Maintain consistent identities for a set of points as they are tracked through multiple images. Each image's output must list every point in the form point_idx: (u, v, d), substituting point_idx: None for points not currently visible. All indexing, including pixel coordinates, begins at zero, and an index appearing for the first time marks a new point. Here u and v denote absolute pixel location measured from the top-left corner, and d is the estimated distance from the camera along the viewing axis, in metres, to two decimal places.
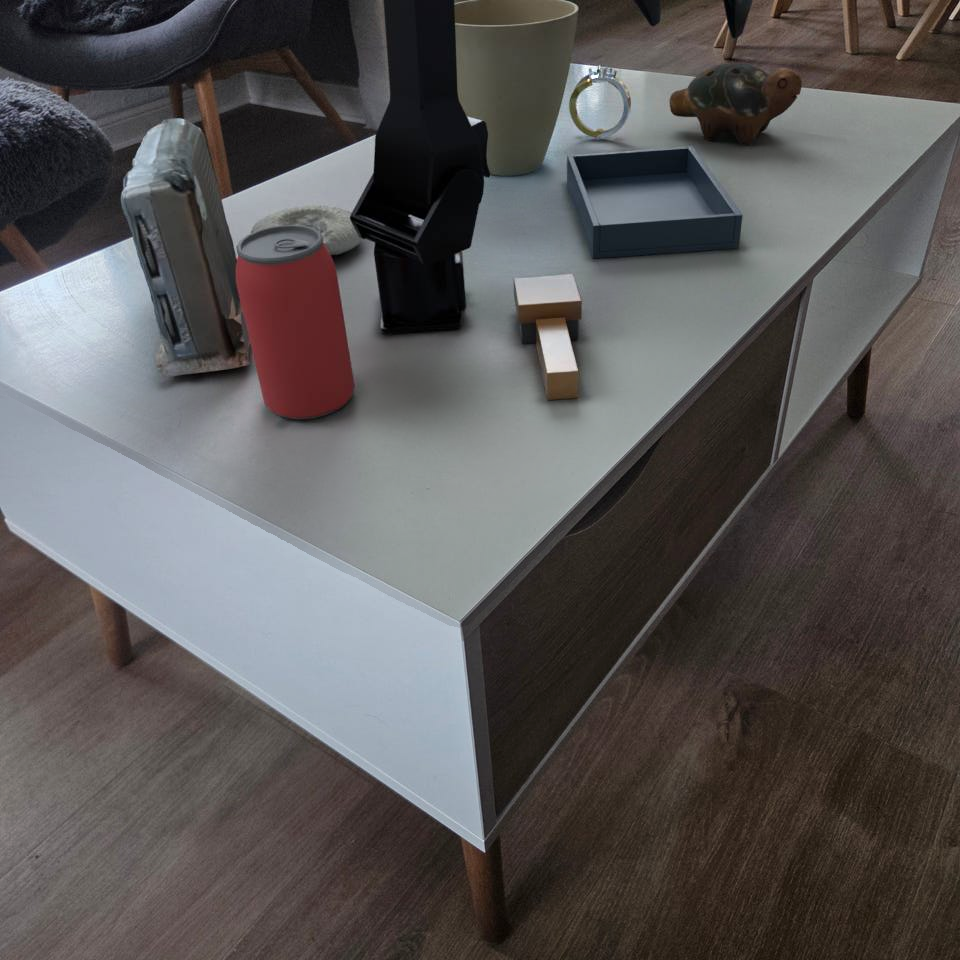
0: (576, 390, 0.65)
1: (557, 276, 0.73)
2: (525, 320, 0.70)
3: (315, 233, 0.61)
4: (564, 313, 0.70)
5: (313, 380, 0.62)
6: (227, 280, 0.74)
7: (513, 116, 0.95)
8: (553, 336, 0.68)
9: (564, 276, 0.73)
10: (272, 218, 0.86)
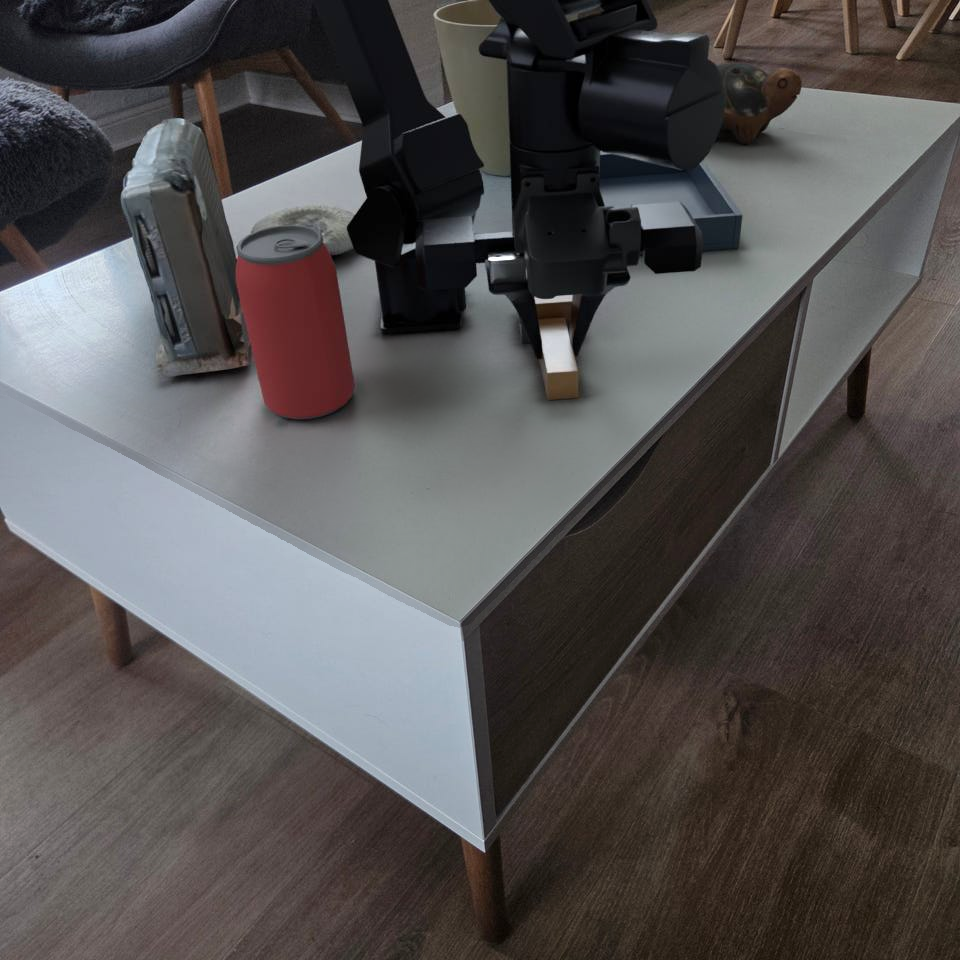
0: (576, 390, 0.65)
1: None
2: None
3: (315, 233, 0.61)
4: (564, 313, 0.70)
5: (313, 380, 0.62)
6: (227, 280, 0.74)
7: None
8: (553, 336, 0.68)
9: None
10: (272, 218, 0.86)
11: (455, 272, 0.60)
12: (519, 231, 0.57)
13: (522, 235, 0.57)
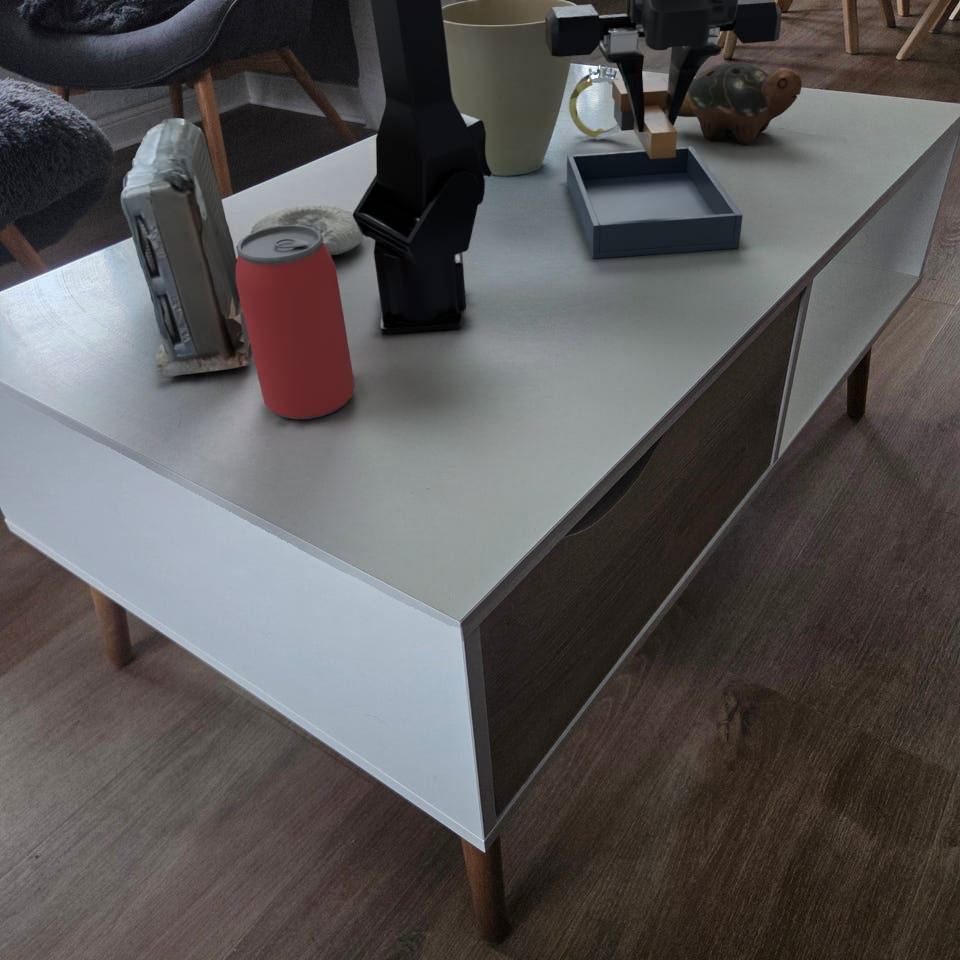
0: (674, 150, 0.79)
1: (649, 78, 0.88)
2: (626, 108, 0.85)
3: (315, 233, 0.61)
4: (658, 101, 0.85)
5: (313, 380, 0.62)
6: (227, 280, 0.74)
7: (513, 116, 0.95)
8: (651, 115, 0.82)
9: (655, 78, 0.88)
10: (272, 218, 0.86)
11: (583, 40, 0.75)
12: None
13: (641, 2, 0.72)
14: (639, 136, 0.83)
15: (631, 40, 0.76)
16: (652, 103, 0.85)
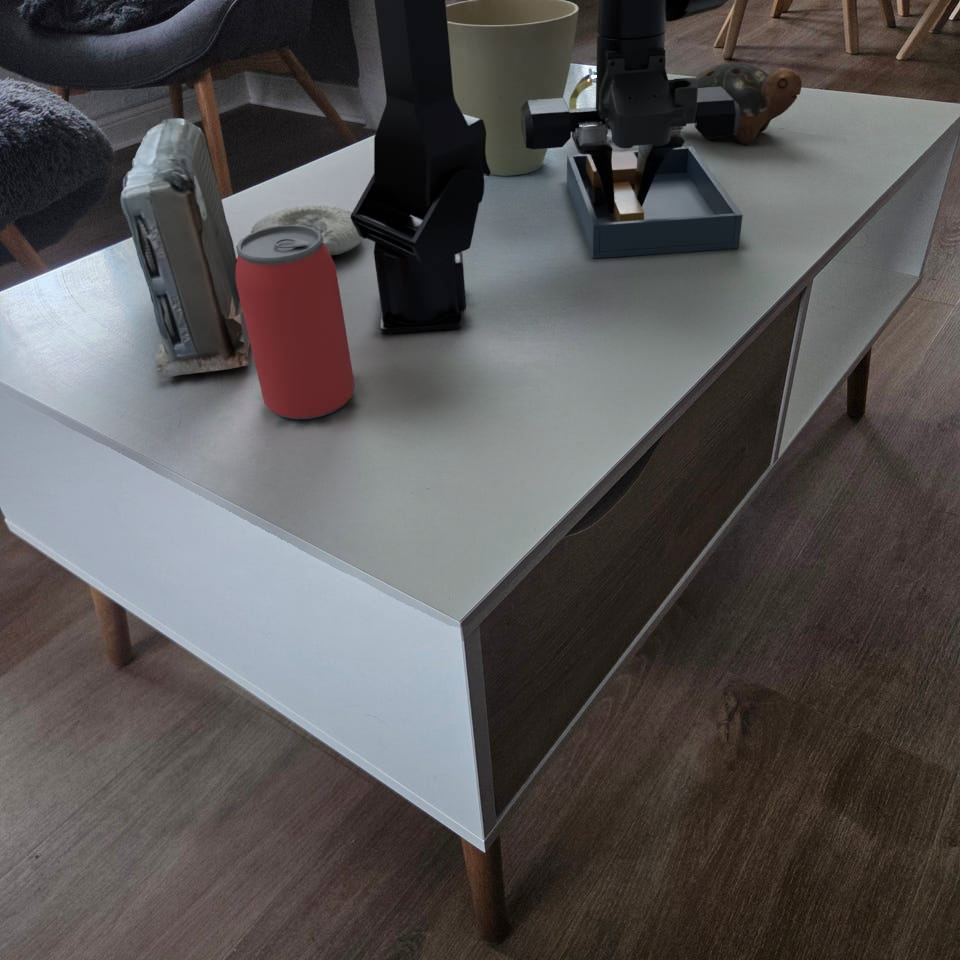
0: None
1: (620, 153, 0.93)
2: (598, 184, 0.90)
3: (315, 233, 0.61)
4: (628, 178, 0.90)
5: (313, 380, 0.62)
6: (227, 280, 0.74)
7: (513, 116, 0.95)
8: (621, 193, 0.88)
9: (626, 153, 0.93)
10: (272, 218, 0.86)
11: (555, 134, 0.80)
12: (605, 99, 0.78)
13: (608, 102, 0.77)
14: None
15: (600, 133, 0.81)
16: (623, 180, 0.90)
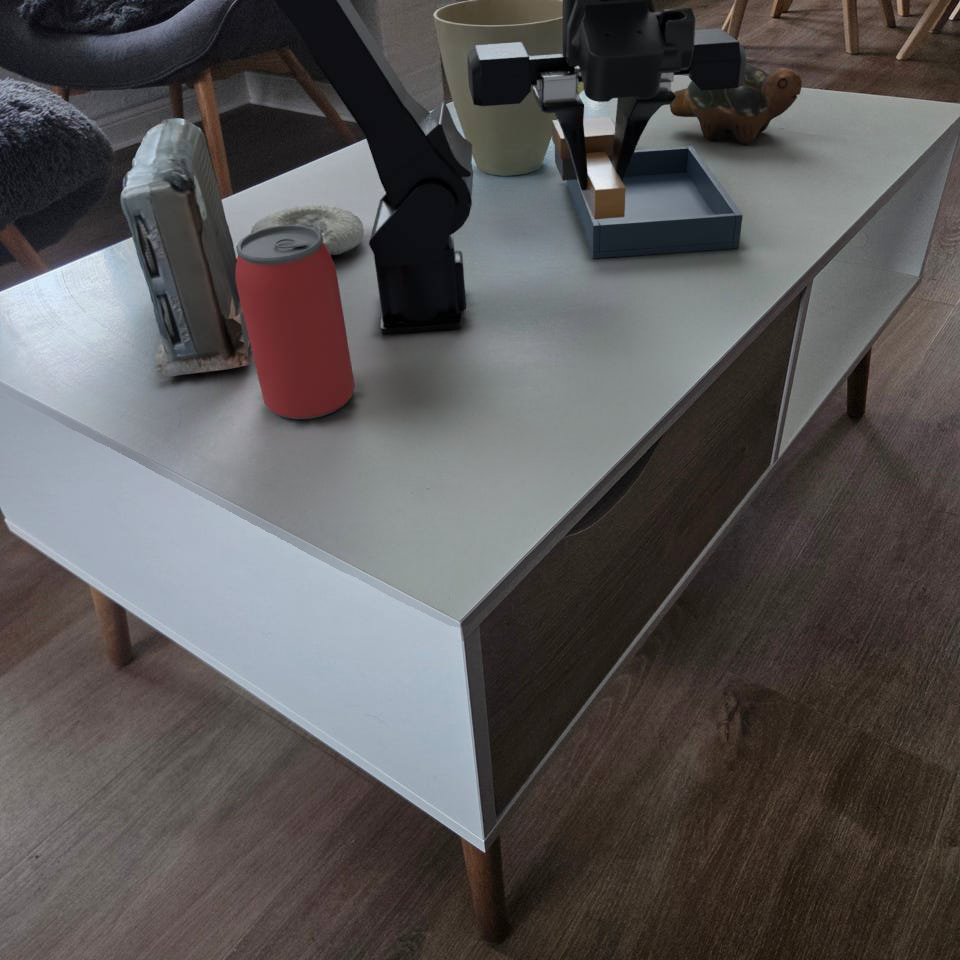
0: (622, 209, 0.67)
1: (594, 118, 0.75)
2: (567, 154, 0.72)
3: (315, 233, 0.61)
4: (604, 147, 0.72)
5: (313, 380, 0.62)
6: (227, 280, 0.74)
7: (513, 116, 0.95)
8: (596, 165, 0.70)
9: (601, 117, 0.75)
10: (272, 218, 0.86)
11: (510, 87, 0.62)
12: (574, 39, 0.60)
13: (578, 43, 0.60)
14: None
15: (569, 86, 0.63)
16: (597, 149, 0.72)
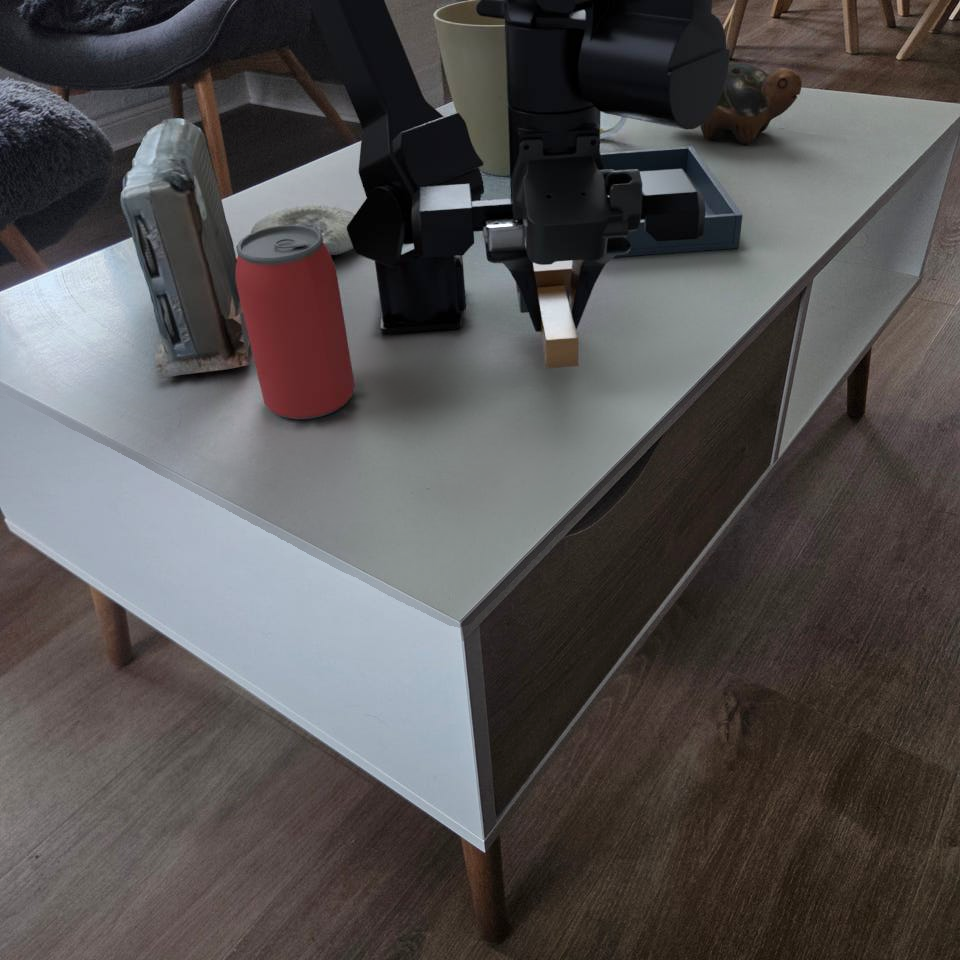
0: (576, 358, 0.63)
1: None
2: None
3: (315, 233, 0.61)
4: (564, 281, 0.68)
5: (313, 380, 0.62)
6: (227, 280, 0.74)
7: None
8: (552, 304, 0.66)
9: None
10: (272, 218, 0.86)
11: (452, 239, 0.58)
12: (517, 196, 0.56)
13: (520, 200, 0.56)
14: None
15: (516, 236, 0.60)
16: (556, 283, 0.68)
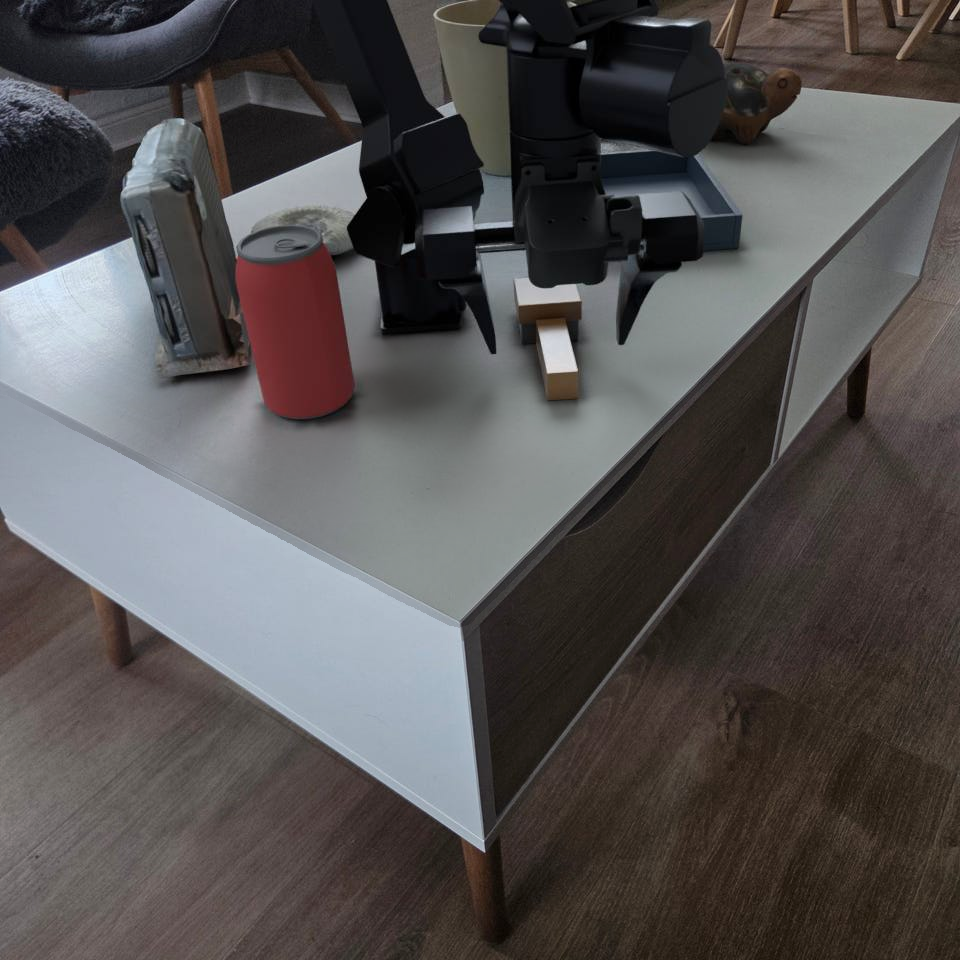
0: (576, 391, 0.65)
1: None
2: (525, 320, 0.70)
3: (315, 233, 0.61)
4: (564, 313, 0.70)
5: (313, 380, 0.62)
6: (227, 280, 0.74)
7: None
8: (553, 337, 0.68)
9: None
10: (272, 218, 0.86)
11: (455, 262, 0.59)
12: (519, 220, 0.57)
13: (522, 224, 0.57)
14: (539, 359, 0.69)
15: None
16: (557, 315, 0.70)
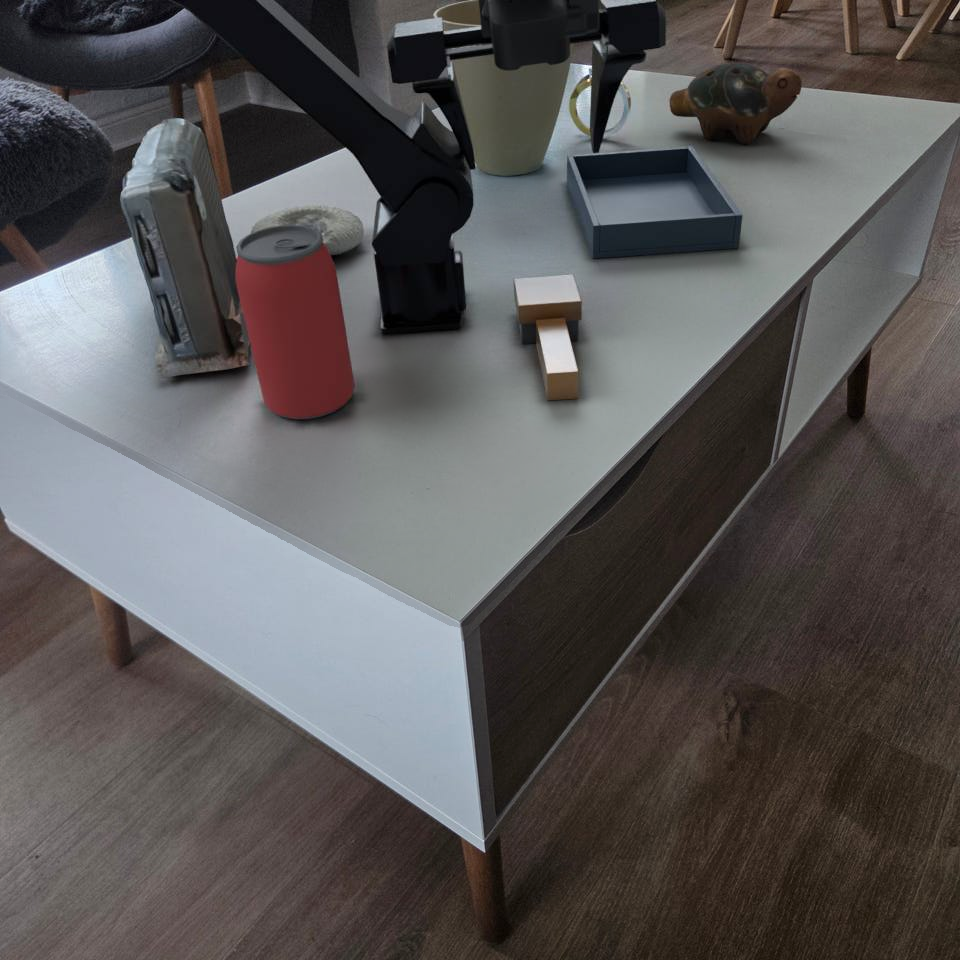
0: (576, 391, 0.65)
1: (557, 276, 0.73)
2: (525, 320, 0.70)
3: (315, 233, 0.61)
4: (564, 313, 0.70)
5: (313, 380, 0.62)
6: (227, 280, 0.74)
7: (513, 116, 0.95)
8: (553, 337, 0.68)
9: (564, 276, 0.73)
10: (272, 218, 0.86)
11: (426, 62, 0.62)
12: (483, 10, 0.59)
13: (486, 13, 0.59)
14: (539, 359, 0.69)
15: None
16: (557, 315, 0.70)
